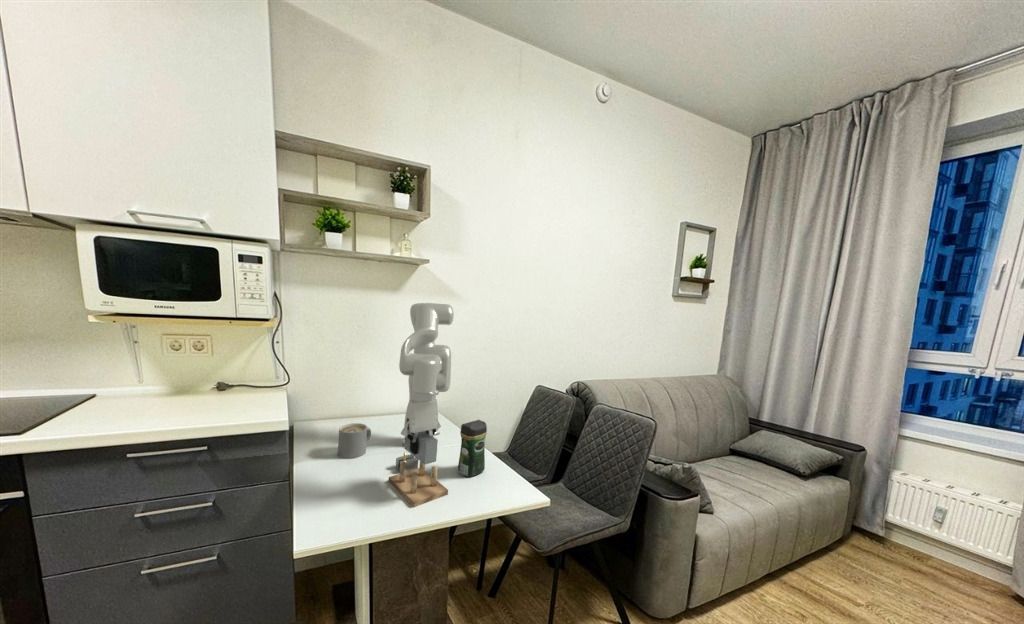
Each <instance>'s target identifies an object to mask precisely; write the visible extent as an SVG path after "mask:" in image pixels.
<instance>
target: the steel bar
mask: <svg viewBox="0 0 1024 624" xmlns="http://www.w3.org/2000/svg"><path fill="white" fill-rule="evenodd" d="M407 433H409V434H410V430H408V432H407ZM404 438H405V445H404V448H403V449H404V450H406V451H407V452H408V453H409V454H412V455H413V456H414V458H415V457H416V458H417V459H418V462H420V461H421V462H422V463H423V464H425V466H426V465H429V464H432V463H435V462H437V453H438V441H439V439H437V438H436V437H435V436H431V435H430V434H428V433H427V432H425V431H423V432H419V433H418V435H417V439H416V442H417V454H415V455H414V454H413V453H412V452H411V451H410V440H409V439H408V438H407V437H405V436H404Z"/></svg>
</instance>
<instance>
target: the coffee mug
mask: <svg viewBox="0 0 1024 624" xmlns="http://www.w3.org/2000/svg"><path fill="white" fill-rule="evenodd" d="M371 436H372V429H371V428H370V427H368V425H367V424H365V423H359V422H358V423H357V422H356V423H355V422H354V423H347V424H344V425H341V426H339V430H338V443H337V444H338V445H337V446H338V447H337V456H338V457H339V458H340V459H346V460H350V459H357V458H360V457H362V456H364V455H365V454H366V450H367V442H369V440H370V438H371Z"/></svg>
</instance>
